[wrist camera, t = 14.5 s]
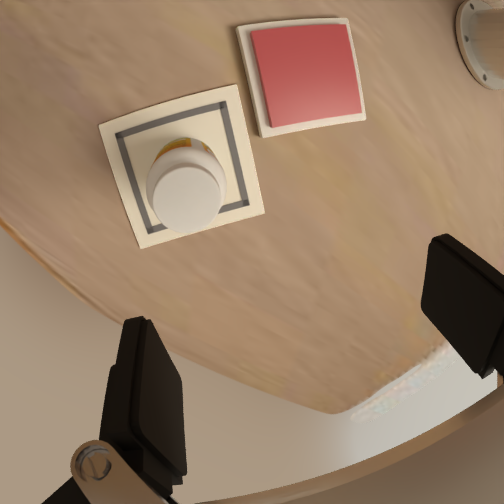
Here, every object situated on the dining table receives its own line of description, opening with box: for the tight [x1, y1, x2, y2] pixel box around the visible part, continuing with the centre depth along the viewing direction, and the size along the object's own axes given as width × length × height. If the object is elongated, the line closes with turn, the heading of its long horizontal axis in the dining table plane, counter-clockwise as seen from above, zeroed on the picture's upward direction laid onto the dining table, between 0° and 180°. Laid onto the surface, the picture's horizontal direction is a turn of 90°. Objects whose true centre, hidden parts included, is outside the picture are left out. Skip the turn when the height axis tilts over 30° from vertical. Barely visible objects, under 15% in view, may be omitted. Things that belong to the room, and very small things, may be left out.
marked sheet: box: [98, 84, 265, 249], centre depth 26 cm, size 12×12×1 cm
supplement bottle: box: [146, 138, 227, 233], centre depth 22 cm, size 5×5×10 cm
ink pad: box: [235, 18, 366, 138], centre depth 23 cm, size 10×10×2 cm
